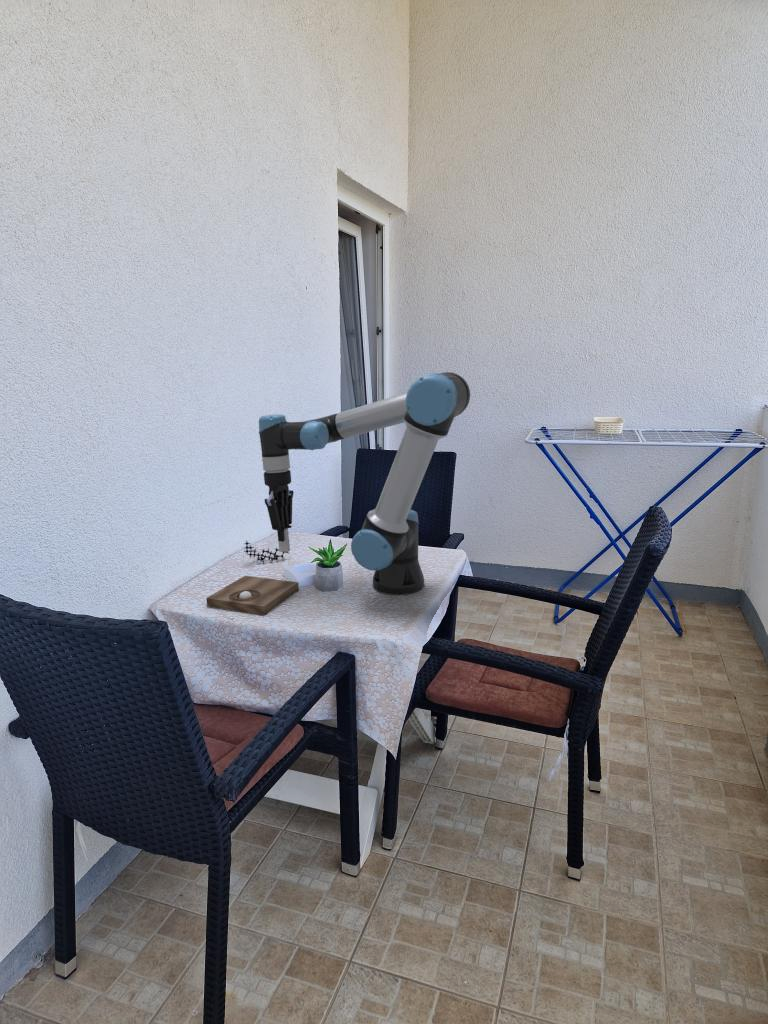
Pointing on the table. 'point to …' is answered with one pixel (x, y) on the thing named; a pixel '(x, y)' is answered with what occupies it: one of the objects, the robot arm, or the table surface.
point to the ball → (245, 595)
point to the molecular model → (262, 553)
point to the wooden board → (253, 595)
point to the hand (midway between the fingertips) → (284, 550)
